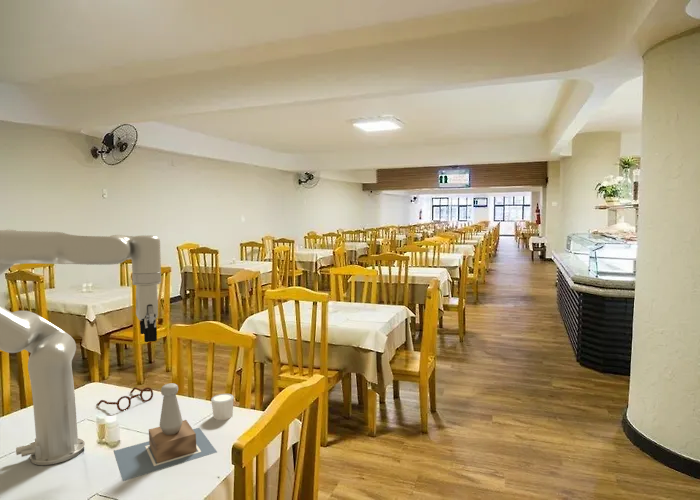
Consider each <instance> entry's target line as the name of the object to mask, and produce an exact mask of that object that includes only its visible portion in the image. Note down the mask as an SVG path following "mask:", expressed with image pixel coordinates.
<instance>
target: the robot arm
mask: <svg viewBox="0 0 700 500" xmlns="http://www.w3.org/2000/svg"><path fill="white" fill-rule="evenodd" d="M127 260H131V272H132V273H131V277H132V280H131V281H132V285H133V286H136V287H135V316H136V317H137V319H138V321H139V326H140V327H139V330H140V334H141V335H143V336H144V337H143V338H144V340H143V341H144V343H151V342H156V341H157V340H158V330H157V329H158V328H157V322H156V321H157V320H156V319H158V314H159V312H158V311H159V309H158V307H159V305H158V303H159V301H158V285H160V284H162V265H161V264H162V263H161V261H162V260H161V239H160V238H159V236H156V235H152V234H151V235H149V234H148V235H146V234H145V235H134V236H133V235H122V234H112V235H110V236H107V235H106V236H101V235H97V236H96V235H76V234H69V233H65V232H61V231H42V230H41V231H37V230H36V231H35V230H34V231H31V230H16V229H1V230H0V276H1V275H2V274H4V273H5V272H6V271H7V270H9V269H10V268H11V267H13V266H14V265H15V264H17V265H18V264H19V265H21V264H22V265H23V264H44V265H45V264H48V265H49V264H51V265H52V264H53V265H87V266H88V265H89V266H90V265H99V266H102V265H105V266H106V265H107V266H110V265H119V264H122V263H123V262H125V261H127ZM23 350H25V351H26V352H28V353H30V355H29V357H28V362H27V369H28V370H27V371H28V375H29V379H30V387H31V393H32V395H31V396H32V403H33V416H34V430H35V438H34V442H30V444H28V445H22V446H18V447H17V446H16V448H15V453H16V456H19V455H21V458H23V457H27V456H29V457H30V459H29V460H30V462H31V463H32V464H34V465H38V466H48V465H49V466H51V465H55V464H60V463H63V462H66V461H68V460H70V459H73V458H75V457H77V456H78V455H80V454H81V453H82V452H83V451H84V450H85V446H86V445H85V440H83V439H81V438H79V436H78V423H77V408H76V407H77V406H76V394H75V393H76V392H75V384H74V383H75V381H74V376H73V368H72V366H73V364H72V362H73V359H74V357H75V355H76V351H77V343H76V341H75V339H74V338H73V337H72V335H70V334H69V333H68V332H66V331H65V330H63V329H61V328H60V327H58V326H57V325H55V324H53V323H52V322H50V321H49V320H47V319H46V318H44V317H42V316H41V315H39V314H38V313H35V312H33V311H29V310H16V311H10V310H8V309H7V308H5V307H3V306H1V305H0V351H3V352H5V353H9V354H15V353H19V352H23Z"/></svg>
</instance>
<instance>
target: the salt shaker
mask: <svg viewBox="0 0 700 500" xmlns="http://www.w3.org/2000/svg"><path fill="white" fill-rule="evenodd" d="M178 391H179V385H178V384H176V383H174V382H173V383H166V384H164V385H162V386H161V388H160V393H161V395H162V396H163V397H162V404H161V405H162V406H161V412H160V421H159V427H160V428H161V430H162V431H163V433H164V434H166V435H171V434H175V433H177V432H179V431H180V428H181V425H182V421H183V417H182V416H183V415H182V413H181V409H180V406H179V401H178V397H177V394H178V393H179V392H178Z"/></svg>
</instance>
